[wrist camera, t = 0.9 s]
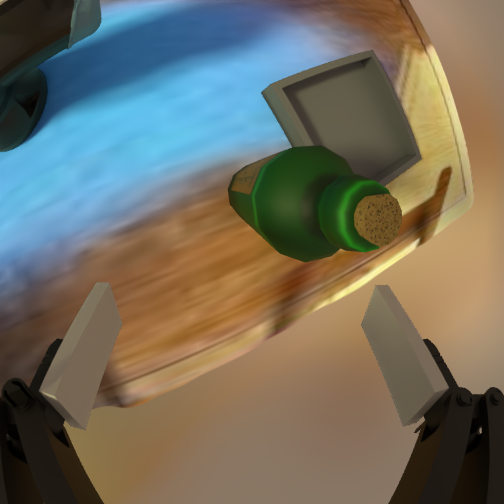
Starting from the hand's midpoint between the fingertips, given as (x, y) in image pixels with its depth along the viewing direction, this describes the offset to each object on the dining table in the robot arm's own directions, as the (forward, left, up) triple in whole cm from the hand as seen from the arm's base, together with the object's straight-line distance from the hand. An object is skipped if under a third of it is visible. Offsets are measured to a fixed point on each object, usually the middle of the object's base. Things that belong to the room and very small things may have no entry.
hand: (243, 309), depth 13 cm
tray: (-1, +30, -29) cm, 42 cm away
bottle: (+1, +10, -29) cm, 31 cm away
